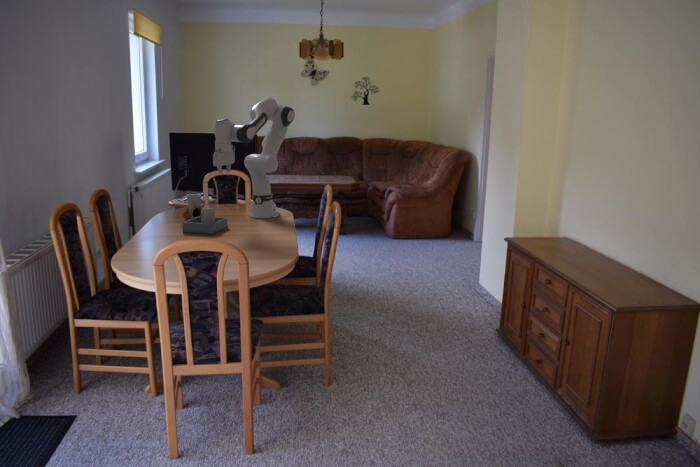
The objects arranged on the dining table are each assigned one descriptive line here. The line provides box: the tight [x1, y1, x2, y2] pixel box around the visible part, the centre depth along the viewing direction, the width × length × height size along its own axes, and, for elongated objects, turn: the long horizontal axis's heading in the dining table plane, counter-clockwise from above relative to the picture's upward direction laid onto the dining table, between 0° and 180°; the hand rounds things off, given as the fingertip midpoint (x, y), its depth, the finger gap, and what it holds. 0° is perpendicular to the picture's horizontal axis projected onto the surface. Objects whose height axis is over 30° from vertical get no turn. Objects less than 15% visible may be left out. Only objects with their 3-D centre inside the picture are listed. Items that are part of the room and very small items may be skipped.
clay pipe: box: [181, 205, 203, 221], centre depth 338 cm, size 19×11×15 cm
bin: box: [181, 216, 229, 236], centre depth 311 cm, size 18×18×6 cm
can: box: [201, 206, 216, 224], centre depth 309 cm, size 8×8×12 cm
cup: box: [186, 193, 206, 208], centre depth 359 cm, size 10×9×12 cm
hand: (224, 173), depth 315 cm, fingers open, 8 cm apart
